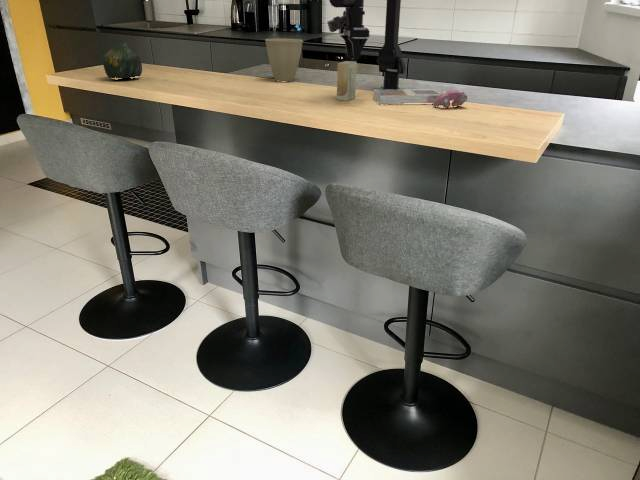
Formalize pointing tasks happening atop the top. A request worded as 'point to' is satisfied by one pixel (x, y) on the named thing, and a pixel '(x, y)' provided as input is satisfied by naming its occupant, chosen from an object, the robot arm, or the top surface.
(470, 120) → the top surface
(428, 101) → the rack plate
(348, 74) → the skincare box
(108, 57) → the squash
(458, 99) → the video game controller
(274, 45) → the plant pot
